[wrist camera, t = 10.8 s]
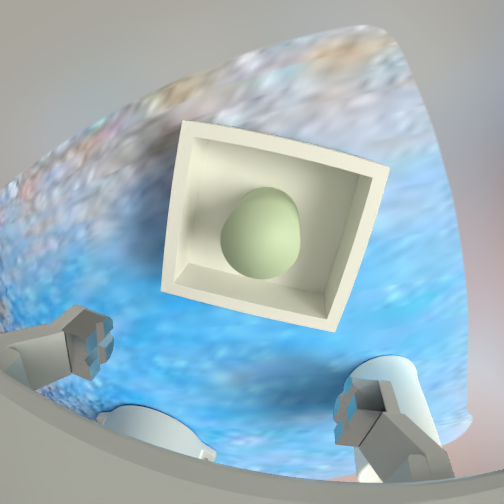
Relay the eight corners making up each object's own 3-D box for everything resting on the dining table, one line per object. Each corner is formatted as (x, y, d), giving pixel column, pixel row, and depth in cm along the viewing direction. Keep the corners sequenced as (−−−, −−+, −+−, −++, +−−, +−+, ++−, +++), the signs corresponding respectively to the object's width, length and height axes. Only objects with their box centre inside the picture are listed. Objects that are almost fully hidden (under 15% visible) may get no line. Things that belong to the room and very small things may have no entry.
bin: (329, 300, 29) (334, 332, 24) (180, 265, 29) (160, 290, 25) (372, 160, 24) (390, 167, 19) (202, 121, 24) (182, 120, 20)
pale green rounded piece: (305, 195, 25) (309, 214, 19) (290, 253, 27) (289, 287, 21) (242, 180, 25) (227, 195, 19) (231, 239, 27) (214, 269, 21)
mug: (310, 367, 32) (312, 462, 21) (378, 321, 29) (409, 414, 18) (368, 416, 34) (381, 497, 23) (427, 380, 31) (457, 460, 20)
